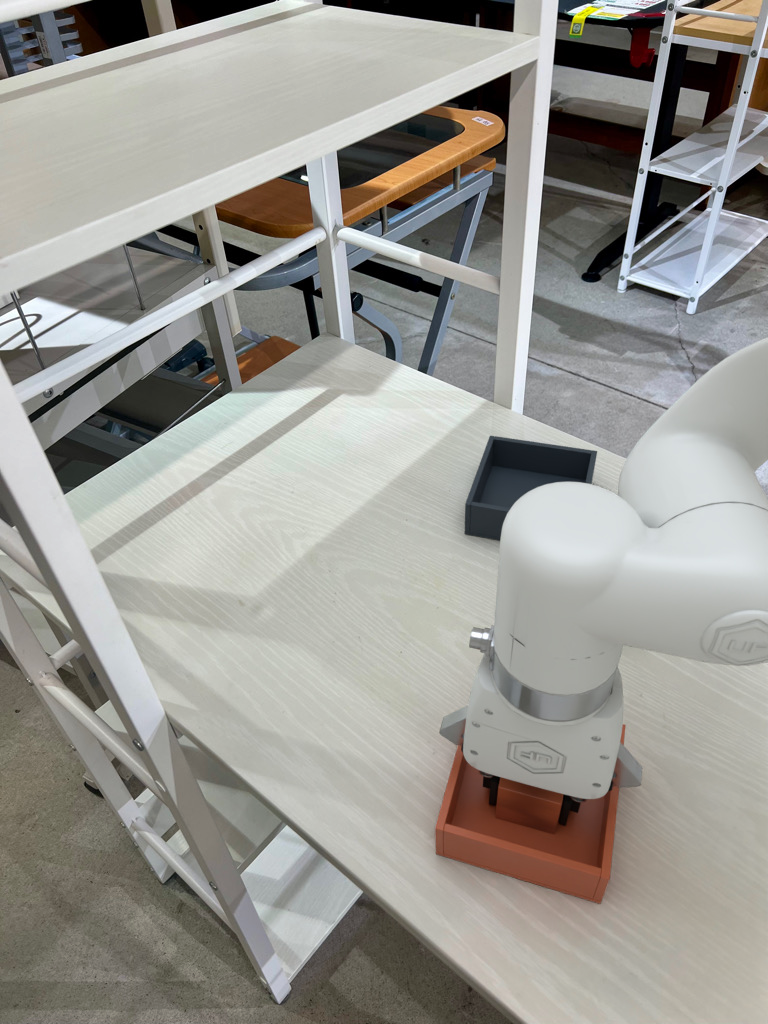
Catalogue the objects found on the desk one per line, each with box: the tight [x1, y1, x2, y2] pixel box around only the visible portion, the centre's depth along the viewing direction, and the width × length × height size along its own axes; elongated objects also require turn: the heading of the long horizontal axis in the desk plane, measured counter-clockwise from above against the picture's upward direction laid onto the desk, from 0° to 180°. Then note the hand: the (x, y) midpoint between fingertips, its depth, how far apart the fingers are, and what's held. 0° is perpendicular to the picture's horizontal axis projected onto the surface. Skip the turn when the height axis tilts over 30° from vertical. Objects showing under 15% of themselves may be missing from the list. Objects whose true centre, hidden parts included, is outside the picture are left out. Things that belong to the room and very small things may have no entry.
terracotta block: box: [495, 777, 563, 834], centre depth 57 cm, size 5×5×5 cm
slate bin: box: [464, 435, 598, 542], centre depth 82 cm, size 12×12×4 cm
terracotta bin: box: [434, 723, 627, 905], centre depth 58 cm, size 12×12×4 cm
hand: (530, 796), depth 58 cm, fingers closed on terracotta block, 4 cm apart
